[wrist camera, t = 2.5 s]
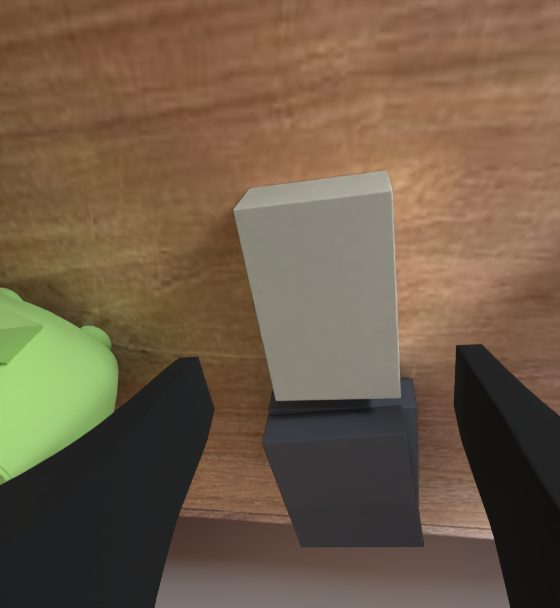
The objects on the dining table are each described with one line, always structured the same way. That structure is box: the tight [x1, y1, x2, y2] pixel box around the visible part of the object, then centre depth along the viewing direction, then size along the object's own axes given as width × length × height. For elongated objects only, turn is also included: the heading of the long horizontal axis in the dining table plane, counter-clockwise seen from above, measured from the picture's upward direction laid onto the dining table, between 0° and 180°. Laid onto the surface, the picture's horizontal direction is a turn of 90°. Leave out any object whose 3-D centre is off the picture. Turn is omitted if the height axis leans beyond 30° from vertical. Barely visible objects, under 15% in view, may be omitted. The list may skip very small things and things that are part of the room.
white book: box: [233, 170, 401, 401], centre depth 18 cm, size 9×6×3 cm, turn 10°
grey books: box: [262, 379, 424, 547], centre depth 22 cm, size 9×7×4 cm
